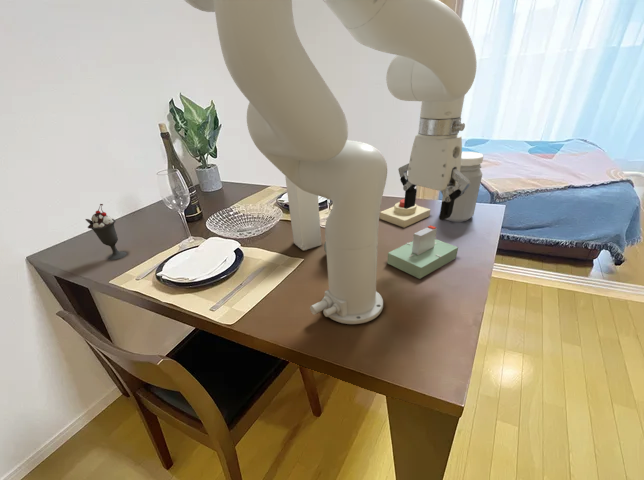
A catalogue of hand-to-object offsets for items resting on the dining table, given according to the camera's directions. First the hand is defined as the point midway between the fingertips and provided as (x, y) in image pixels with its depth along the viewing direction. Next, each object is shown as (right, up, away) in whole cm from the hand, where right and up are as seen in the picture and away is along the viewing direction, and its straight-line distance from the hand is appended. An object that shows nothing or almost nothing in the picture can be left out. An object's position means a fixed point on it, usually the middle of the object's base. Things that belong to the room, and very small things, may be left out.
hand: (426, 212), depth 74 cm
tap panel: (+1, -10, +8) cm, 13 cm away
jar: (+18, +6, +28) cm, 34 cm away
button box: (+3, +6, +30) cm, 31 cm away
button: (+3, +9, +28) cm, 30 cm away
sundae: (-83, -7, +22) cm, 86 cm away
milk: (-27, -4, +20) cm, 34 cm away
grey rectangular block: (+1, -7, +6) cm, 10 cm away
